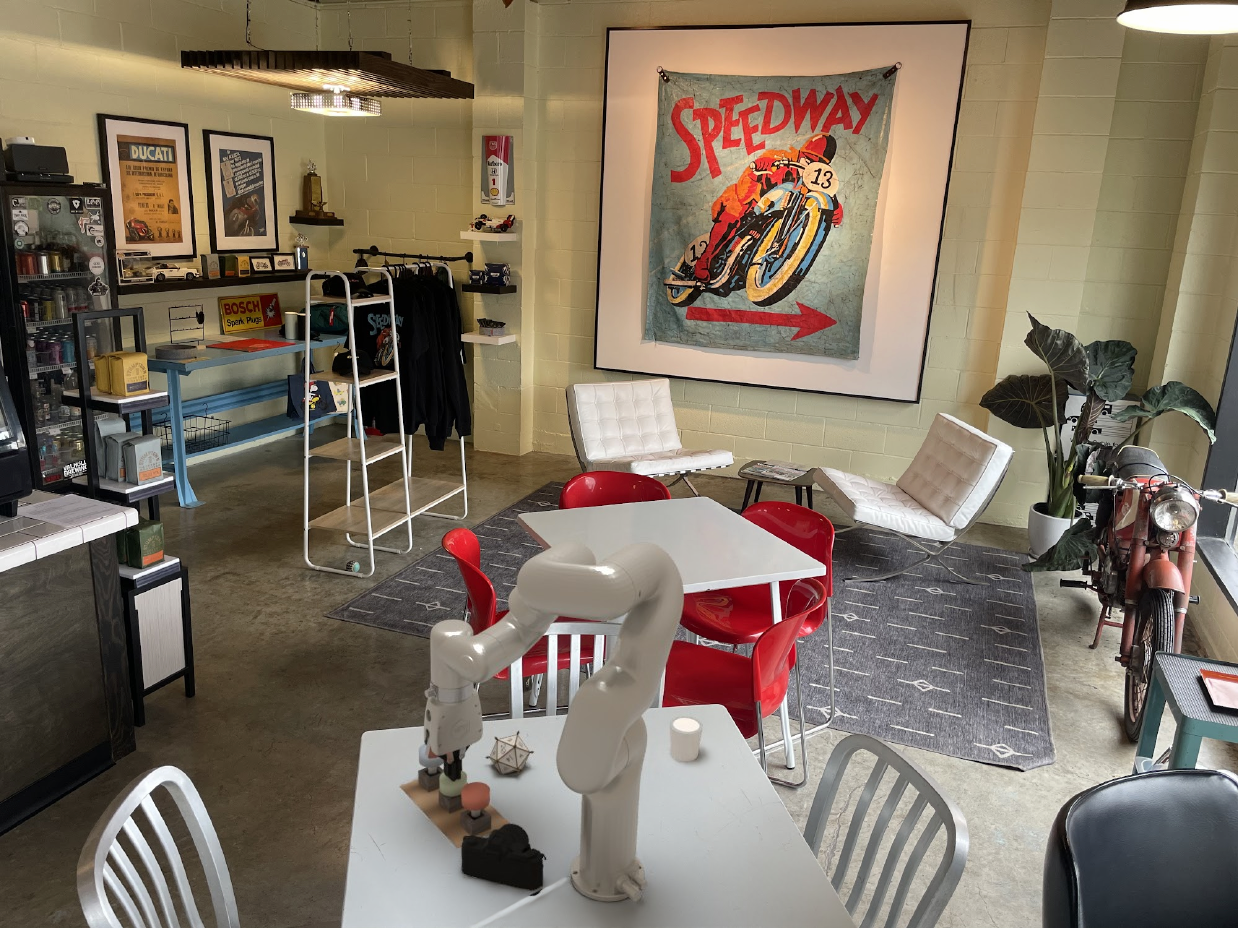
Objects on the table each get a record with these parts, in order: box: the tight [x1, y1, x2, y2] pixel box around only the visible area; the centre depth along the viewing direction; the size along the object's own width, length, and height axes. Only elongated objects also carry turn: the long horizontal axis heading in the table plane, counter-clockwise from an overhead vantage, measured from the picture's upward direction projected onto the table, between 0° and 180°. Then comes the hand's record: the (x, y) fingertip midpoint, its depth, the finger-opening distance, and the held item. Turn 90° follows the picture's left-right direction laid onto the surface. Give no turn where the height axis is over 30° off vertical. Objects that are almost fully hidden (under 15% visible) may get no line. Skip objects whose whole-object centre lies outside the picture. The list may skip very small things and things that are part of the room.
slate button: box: [418, 743, 444, 774], centre depth 178 cm, size 5×5×5 cm
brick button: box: [462, 781, 491, 817], centre depth 167 cm, size 5×5×5 cm
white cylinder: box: [669, 715, 704, 763], centre depth 194 cm, size 7×7×7 cm
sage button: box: [440, 770, 468, 798], centre depth 173 cm, size 5×5×5 cm
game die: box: [484, 730, 535, 775], centre depth 185 cm, size 9×8×10 cm
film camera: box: [460, 823, 547, 897], centre depth 158 cm, size 15×10×9 cm, turn 74°
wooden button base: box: [399, 765, 511, 849], centre depth 174 cm, size 22×11×4 cm, turn 39°
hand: (452, 776), depth 172 cm, fingers closed
